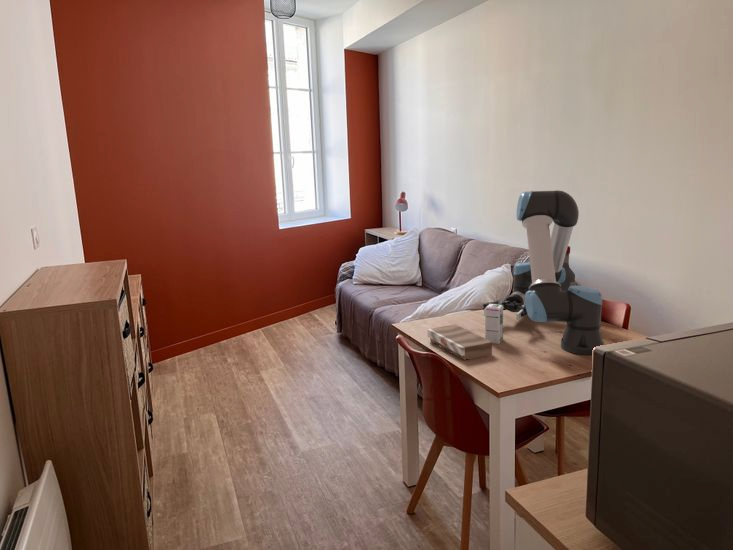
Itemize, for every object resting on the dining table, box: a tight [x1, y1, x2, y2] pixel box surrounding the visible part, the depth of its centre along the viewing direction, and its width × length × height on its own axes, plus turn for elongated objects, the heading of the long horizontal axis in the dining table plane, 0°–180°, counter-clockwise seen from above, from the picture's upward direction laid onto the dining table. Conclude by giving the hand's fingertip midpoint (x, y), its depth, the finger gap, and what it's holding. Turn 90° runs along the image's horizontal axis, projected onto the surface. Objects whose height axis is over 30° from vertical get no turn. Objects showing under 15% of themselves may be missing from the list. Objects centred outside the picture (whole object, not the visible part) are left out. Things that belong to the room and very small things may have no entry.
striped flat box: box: [427, 323, 493, 361], centre depth 204 cm, size 24×14×5 cm, turn 24°
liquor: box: [559, 245, 576, 291], centre depth 247 cm, size 9×9×30 cm
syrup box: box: [484, 304, 504, 345], centre depth 209 cm, size 6×6×14 cm
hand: (501, 314), depth 217 cm, fingers open, 13 cm apart
